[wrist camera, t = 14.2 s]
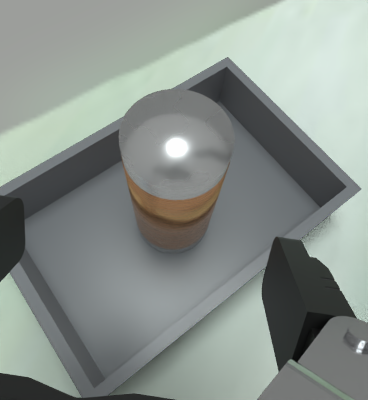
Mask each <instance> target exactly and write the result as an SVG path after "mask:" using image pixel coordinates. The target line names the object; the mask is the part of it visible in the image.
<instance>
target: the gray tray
mask: <svg viewBox="0 0 368 400" xmlns="http://www.w3.org/2000/svg"><path fill="white" fill-rule="evenodd" d="M173 89H183V90H189V91H193V92H197V93H200V94H202V95H204V96H206V97H208V98H210V99H211V100H213V101H214V102H215V103H217V104H218V105H219V106H220V107H221V108H222V109H223V110H224V112H225V113H226V114H227V116H228V117H229V119H230V121H231V124H232V126H233V130H234V136H235V144H234V150H233V153H232V156H231V159H230V164H229V167H228V170H227V173H226V176H225V179H224V182H223V185H222V188H221V190H220V193H219V196H218V199H217V202H216V205H215V208H214V211H213V213H212V216H211V219H210V222H209V225H208V228H207V230H206V232H205V234H204V236H203V238H202V239H201V241H200V242H199V243H198V244H197V245H196V246H194V247H193V248H191V249H189V250H187V251H185V252H182V253H174V254H171V253H164V252H161V251H158V250H156V249H154V248H153V247H151V246H150V245H149V244H148V243H147V242H146V241H145V240H144V239H143V237H142V235H141V233H140V231H139V228H138V225H137V222H136V218H135V213H134V209H133V205H132V201H131V197H130V193H129V189H128V184H127V180H126V176H125V172H124V168H123V164H122V158H121V151H120V147H119V129H120V125H121V122H122V120H123V118H124V117H122V118H120V119H118V120H117V121H115V122H113V123H111V124H110V125H108V126H106V127H104V128H103V129H101V130H99V131H97V132H96V133H94V134H92V135H90V136H89V137H87V138H85V139H83V140H82V141H80V142H78V143H76V144H75V145H73V146H71V147H69V148H68V149H66V150H64V151H62V152H61V153H59V154H57V155H55V156H54V157H52V158H50V159H48V160H47V161H45V162H43V163H41V164H40V165H38V166H36V167H34V168H33V169H31V170H29V171H27V172H26V173H24V174H22V175H20V176H19V177H17V178H15V179H13V180H12V181H10V182H8V183H6V184H5V185H3V186H1V187H0V195H3V196H10V197H16V198H20V199H21V200H22V201H23V204H24V220H25V250H24V253H23V256H22V258H21V260H20V261H19V262H18V263H17V264H16V265H15V267H14V268H13V269H12V270H11V271H10V274H11V276H12V277H13V279H14V281H15V283H16V284H17V286H18V288H19V290H20V291H21V293H22V295H23V296H24V298H25V300H26V302H27V303H28V305H29V307H30V308H31V310H32V312H33V314H34V315H35V317H36V319H37V321H38V322H39V324H40V326H41V327H42V329H43V331H44V333H45V334H46V336H47V338H48V340H49V341H50V343H51V345H52V346H53V348H54V350H55V352H56V353H57V355H58V357H59V359H60V360H61V362H62V364H63V365H64V367H65V369H66V371H67V372H68V374H69V376H70V378H71V379H72V381H73V383H74V384H75V386H76V388H77V390H78V391H79V393H80V395H81V397H82V398H87V397H99V396H108V395H109V394H110V393H111V392H113V391H114V390H115V389H116V388H117V387H119V386H120V385H121V384H122V383H124V382H125V381H126V380H127V379H129V378H130V377H131V376H132V375H133V374H135V373H136V372H137V371H138V370H140V369H141V368H142V367H143V366H145V365H146V364H147V363H148V362H149V361H151V360H152V359H153V358H154V357H156V356H157V355H158V354H159V353H161V352H162V351H163V350H164V349H165V348H167V347H168V346H169V345H170V344H172V343H173V342H174V341H175V340H177V339H178V338H179V337H180V336H181V335H183V334H184V333H185V332H186V331H188V330H189V329H190V328H191V327H193V326H194V325H195V324H196V323H197V322H199V321H200V320H201V319H202V318H204V317H205V316H206V315H207V314H209V313H210V312H211V311H212V310H213V309H215V308H216V307H217V306H218V305H220V304H221V303H222V302H223V301H225V300H226V299H227V298H228V297H229V296H231V295H232V294H233V293H234V292H236V291H237V290H238V289H239V288H241V287H242V286H243V285H244V284H245V283H247V282H248V281H249V280H250V279H252V278H253V277H254V276H255V275H257V274H258V273H259V272H260V271H261V270H263V269H264V268H265V267H266V266H267V262H268V258H269V254H270V251H271V247H272V243H273V240H274V238H275V237H283V238H290V239H297V240H300V239H301V238H302V237H303V236H305V235H306V234H307V233H308V232H309V231H311V230H312V229H313V228H314V227H316V226H317V225H318V224H319V223H321V222H322V221H323V220H324V219H325V218H327V217H328V216H329V215H330V214H332V213H333V212H334V211H335V210H337V209H338V208H339V207H340V206H341V205H343V204H344V203H345V202H346V201H348V200H349V199H350V198H351V197H353V196H354V195H355V194H356V193H357V192H359V191H360V190H361V188H360V187H359V186H358V185H357V184H356V183H355V182H354V181H353V180H352V179H351V178H350V177H349V176H348V175H347V174H346V173H345V172H344V171H343V170H342V169H341V168H340V167H339V166H338V165H337V164H336V163H335V162H334V161H333V160H332V159H331V158H330V157H329V156H328V155H327V154H326V153H325V152H324V151H323V150H322V149H321V148H320V147H319V146H318V145H317V144H316V143H315V142H314V141H312V140H311V139H310V138H309V137H308V136H307V135H306V134H305V133H304V132H303V131H302V130H301V129H300V128H299V127H298V126H297V125H296V124H295V123H294V122H293V121H292V120H291V119H290V118H289V117H288V116H287V115H286V114H285V113H284V112H283V111H282V110H281V109H280V108H279V107H278V106H277V105H276V104H275V103H274V102H273V101H272V100H271V99H270V98H269V97H268V96H267V95H266V94H265V93H264V92H263V91H262V90H261V89H260V88H259V87H258V86H257V85H256V84H255V83H254V82H253V81H252V80H251V79H250V78H249V77H248V76H247V75H246V74H245V73H244V72H243V71H242V70H241V69H240V68H239V67H238V66H237V65H236V64H235V63H233V62H232V61H231V60H230V59H229V58H228V57H227V58H225V59H223V60H221V61H220V62H218V63H216V64H214V65H213V66H211V67H209V68H207V69H206V70H204V71H202V72H200V73H199V74H197V75H195V76H193V77H192V78H190V79H188V80H187V81H185V82H183V83H181V84H180V85H178V86H176V87H174V88H173Z"/></svg>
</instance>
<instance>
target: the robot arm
mask: <svg viewBox="0 0 368 400" xmlns="http://www.w3.org/2000/svg"><path fill="white" fill-rule="evenodd" d="M24 250H25V220H24V204H23V201H22V200H21V199H20V198H16V197H10V196H3V195H0V282H1V280H2V279H3V278H4V277H5V276H6V275H7V274H8V273H9V272H10V271H11V270H12V269H13V268H14V267H15V265H16V264H17V263H18V262H19V261H20V260H21V258H22V256H23V253H24ZM262 300H263V304H264V308H265V313H266V317H267V322H268V326H269V330H270V335H271V339H272V344H273V348H274V353H275V357H276V361H277V366H278V370H279V373H278V374H277V375H276V377H275V378H274V379H273V380H272V382H271V383H270V384H269V385H268V387H267V388H266V389H265V390H264V392H263V393H262V394H261V395H260V397H259V398H258V399H257V400H368V323H366V322H364V321H362V320H359V319H357V318H356V316H355V314H354V312H353V311H352V309H351V307H350V306H349V304H348V302H347V300H346V299H345V297H344V295H343V293H342V292H341V291H340V288H339V286H338V285H337V283H336V282H335V281H334V278H333V276H332V274H331V272H330V271H329V269H328V268H327V267H326V266H325V265H324V264H323V263H321V262H320V261H319V260H318V259H317V258H313V257H309V255H308V253H307V251H306V249H305V247H304V245H303V243H302V241H301V240H297V239H290V238H283V237H275V238H274V240H273V243H272V247H271V251H270V254H269V258H268V262H267V266H266V270H265V274H264V278H263V283H262ZM0 400H173V399H167V398H160V397H154V396H147V395H141V394H123V395H111V396H99V397H87V398H76V397H73V396H70V395H68V394H65V393H63V392H61V391H59V390H56V389H54V388H52V387H49V386H47V385H45V384H43V383H40V382H38V381H36V380H33V379H31V378H29V377H23V376H16V375H10V374H3V373H0Z"/></svg>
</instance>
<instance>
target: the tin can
mask: <svg viewBox="0 0 368 400" xmlns="http://www.w3.org/2000/svg"><path fill="white" fill-rule="evenodd" d="M234 144H235V136H234V130H233V126H232V124H231V121H230V119H229V117H228V116H227V114H226V113H225V112H224V110H223V109H222V108H221V107H220V106H219V105H218V104H217V103H215V102H214V101H213V100H211V99H210V98H208V97H206V96H204V95H202V94H200V93H197V92H193V91H189V90H183V89H168V90H161V91H157V92H154V93H151V94H149V95H147V96H145V97H143V98H142V99H140V100H138V101H137V102H136V103H135V104H134V105H133V106H132V107H131V108H130V109H129V110H128V111H127V113H126V114H125V116H124V118H123V120H122V122H121V125H120V129H119V147H120V151H121V158H122V164H123V168H124V172H125V176H126V180H127V184H128V189H129V193H130V197H131V201H132V205H133V209H134V213H135V218H136V222H137V225H138V228H139V231H140V233H141V235H142V237H143V239H144V240H145V241H146V242H147V243H148V244H149V245H150V246H151V247H153V248H154V249H156V250H158V251H161V252H164V253H171V254H174V253H182V252H185V251H187V250H189V249H191V248H193V247H194V246H196V245H197V244H198V243H199V242H200V241H201V239H202V238H203V236H204V234H205V232H206V230H207V228H208V225H209V222H210V219H211V216H212V213H213V211H214V208H215V205H216V202H217V199H218V196H219V193H220V190H221V188H222V185H223V182H224V179H225V176H226V173H227V170H228V167H229V164H230V159H231V156H232V153H233V150H234Z"/></svg>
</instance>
